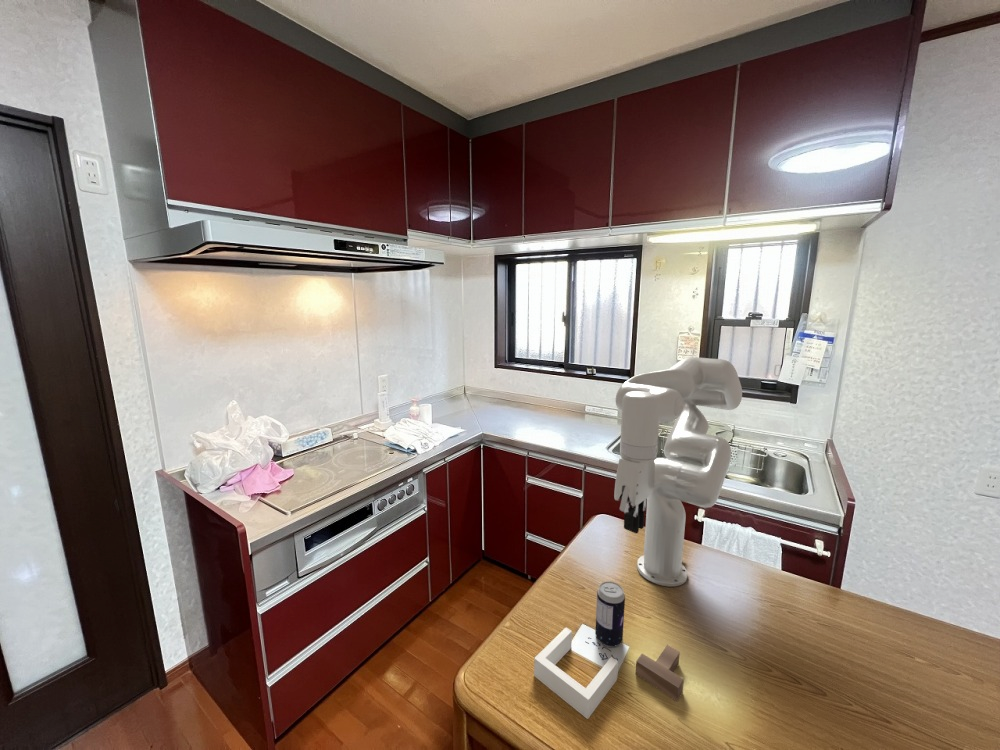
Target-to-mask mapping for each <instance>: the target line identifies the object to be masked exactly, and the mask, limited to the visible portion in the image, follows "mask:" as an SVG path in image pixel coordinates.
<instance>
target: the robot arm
mask: <svg viewBox="0 0 1000 750" xmlns="http://www.w3.org/2000/svg"><path fill="white" fill-rule="evenodd" d="M742 387H743V386H742V384H741V381H740V378H739V375H738V372H737V370H736V368H735V366H734V365H733V364H732V363H731V362H730V361H729V360H726V359H719V358H707V357H699V356H698V357H697V356H695V357H694V356H692V357H689V356H688V357H685V358H683V359H681V360H679V361H677V363H675V364H674V365H672V366H671V367H669V368H668V369H663V370H657V371H652V372H646V373H641V374H637V375H634V376H632V377H631V378H629V379H628V380H626V381H625V382H623V383H622V384H621V386H620V387H619V388H618V390H617V392H616V396H615V406H616V408H617V410H618V412H620V413H621V424H620V425H621V426H620V439H619V440H620V443H619V456H620V457H619V460H618V465H617V470H616V474H615V482H614V492H613V493H614V495H613V496H614V500H615V501H616V502H618V501H620V505H619V511H621V512H623V513H624V514H623V515H624V517H623V529H625V530H627V531H629V532H631V533H634V534H638V533H639V530H642V529H644V528H645V530H644V531H645V533H644V543H643V544H644V546H643V555H641V556H640V557H638V559H637V561H636V568H637V570H638V572H639V574H640V575H641V576H642V577H643V578H644V579H646V580H648V581H650V582H651V583H653V584H655V585H660V586H663V587H678V586H681V585H683V584H685V583H686V582H687V580H688V570H687V568H686V567H685V566H684V564H683V553H684V542H685V541H684V540H685V532H686V531H685V527H686V516H687V515H686V510H685V507H684V505H683V503H688V504H691V505H694V506H697V507H702V508H711V507H713V506H714V505H716V503H717V501H718V499H719V497H720V494H721V491H722V488H723V485H724V482H725V480H726V476H727V473H728V469H729V467H730V463H731V457H732V448H731V445H730V443H729V442H728V440H726V439H725V438H723V437H722V436H721V437H720V436H718V435H712V434H708V433H707V432H708V430H709V422H708V421H707V418H706V417H705V415H704V414H703V413H702V411H701V410H700V409H699V408H698V407H705V408H713V409H718V410H719V409H720V410H726V411H731V410H735V409H737V408H738V407H739V406H740V404H741V402H742V399H743V389H742ZM697 406H698V407H697ZM670 422H674V424H673V426H672V428H671V429H670V432H669V434H668V435H667V439H666V441H665V444H664V447H663V453H664V456H665V457H657V455H658V441H659V428H660V424H663V423H664V424H665V423H670ZM682 502H683V503H682ZM645 511H646V512H645ZM645 513H646V514H645ZM645 516H646V517H645ZM644 524H645V527H644Z"/></svg>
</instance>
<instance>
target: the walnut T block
mask: <svg viewBox="0 0 1000 750" xmlns="http://www.w3.org/2000/svg"><path fill="white" fill-rule="evenodd" d="M680 653H681V652H680V651H679V650H677V649H676V648H675V647H672V646H670V645H668V644H666V645H665V647H664V649H663V651H661V653H660V654H659V656H658V657H657V658H656V660H654V659H652V658H651V657H648V656H647V655H646V654H644V653H641V654H640V656H639V657H638V658H637V659H636V661H635V675H636V676H637V677H638V678H640V679H642V680H643V681H645V682H646V683H647V684H649V685H650V686H652V687H654V689H657V690H658V691H660V692H662V693H663V694H664V695H666V696H668V697H669V698H670V699H672V700H674V701H675V702H677V703H678V701H679V700H680V698H681V697H682V694H683V692H684V680H685V678H683V677H682V676H680V675H679V674H677V673H675V671H676V670H677V668H678V667H679V664H680V655H681V654H680Z"/></svg>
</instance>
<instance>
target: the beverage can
mask: <svg viewBox="0 0 1000 750" xmlns="http://www.w3.org/2000/svg"><path fill="white" fill-rule="evenodd" d="M625 604H626V595H625V592H624V588H623V587H622V586H621V585H620V584H618V583H616V582H614V581H604V582H602V583H600V584H599V587H598V589H597V591H596V609H595V610H596V611H595V612H596V613H595V630H594V631H595V632H594V633H595V637H596V638H597V639H596V640H598V641H599V642H600V643H601V644H602V645H604V646H605V647H609V648H614V647H616V646H619V645H620V644H622V642H623V640H624V639H623V638H624V624H625V623H624V622H625V606H626V605H625Z"/></svg>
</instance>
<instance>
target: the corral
mask: <svg viewBox="0 0 1000 750" xmlns="http://www.w3.org/2000/svg"><path fill="white" fill-rule="evenodd" d="M572 638H573V631H572V630H571V629H570V628H568V627H567V626H566V627H564V628H563V629H562V630H561V632H559V634H557V636H555V637H554V638H553V639H552V640H550V642H549V643H548V644H546V646H545V647H544V648H543V649H542V650H541V651H539V653H538V654H537V655H536V656H535V657H534V660H533V664H534V665H533V677H535V678H536V679H537V680H539V682H541V683H542V684H543V685H545V686H546V687H547V688H548V689H550V690H551V691H552V692H553V693H554V694H555V695H556V696H558V697H559V698H561V699H562V700H563V701H565V702H566V703H567V705H569V706H570V707H572V708H573V709H574V710H576V711H577V712H578V713H579V714H581V715H582V717H584V718H586V719H587V720H589V718H590V717H591V716H592V715H593V713H594V712H595V710H596V709H597V707H599V705H600V703H601V702H602V701H603V700H604V698H605V696H606V695H607V694H608V693H609V692H610V690H611V688H612V687H613V686H614V685H615V683H616V682H617V680H618V675H619V673H618V672H619V670H618V669H619V661H618V660H616V659H615V658H613V656H611V657H609V659H608V660H607V661H606V663H605V664H604V665H603V666H602V668H600V670H599V671H598V672H597V674H596V675H595V676H594V677H593V678H592V680H591V681H590V682H589V683H588V685H587V686H586V687H585V686H583V685H582V684H580V682H578V681H576V679H574V678H572V677H571V676H570V675H569V674H568V673H566V672H565V671H563V670H562V669H561V668H560V667H558V666H557V664H558V662H560V660H562V658H563V657H564V656H565V655H566V654H567V653H568V652H569V651H570V650H571V649H572V645H573V644H572V641H573V639H572Z"/></svg>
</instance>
